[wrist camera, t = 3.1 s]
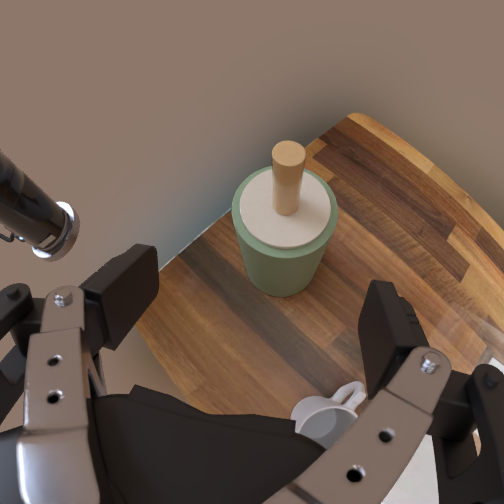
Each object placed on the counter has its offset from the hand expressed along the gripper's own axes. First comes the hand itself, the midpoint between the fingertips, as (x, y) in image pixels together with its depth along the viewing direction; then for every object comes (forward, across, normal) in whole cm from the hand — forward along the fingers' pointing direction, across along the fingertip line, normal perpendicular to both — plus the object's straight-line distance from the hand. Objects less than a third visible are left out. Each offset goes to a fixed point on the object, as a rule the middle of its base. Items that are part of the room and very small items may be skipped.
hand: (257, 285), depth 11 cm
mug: (+16, -9, +27) cm, 33 cm away
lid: (+18, 0, +2) cm, 18 cm away
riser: (+29, 0, +14) cm, 32 cm away
